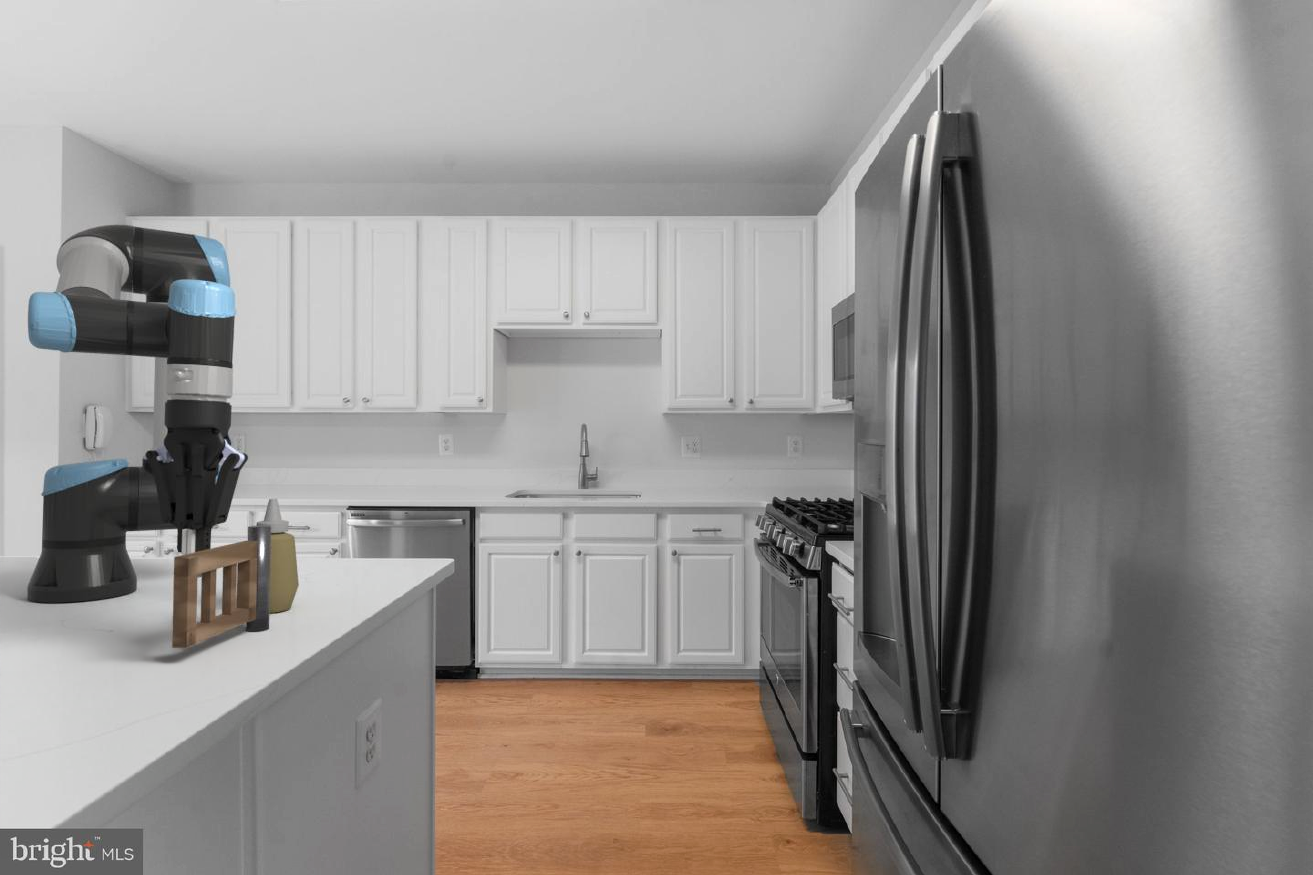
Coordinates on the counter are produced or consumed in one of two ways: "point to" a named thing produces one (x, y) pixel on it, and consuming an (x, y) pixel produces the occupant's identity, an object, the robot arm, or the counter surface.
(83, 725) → the counter surface
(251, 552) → the gate
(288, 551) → the squeeze bottle
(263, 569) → the gate post
